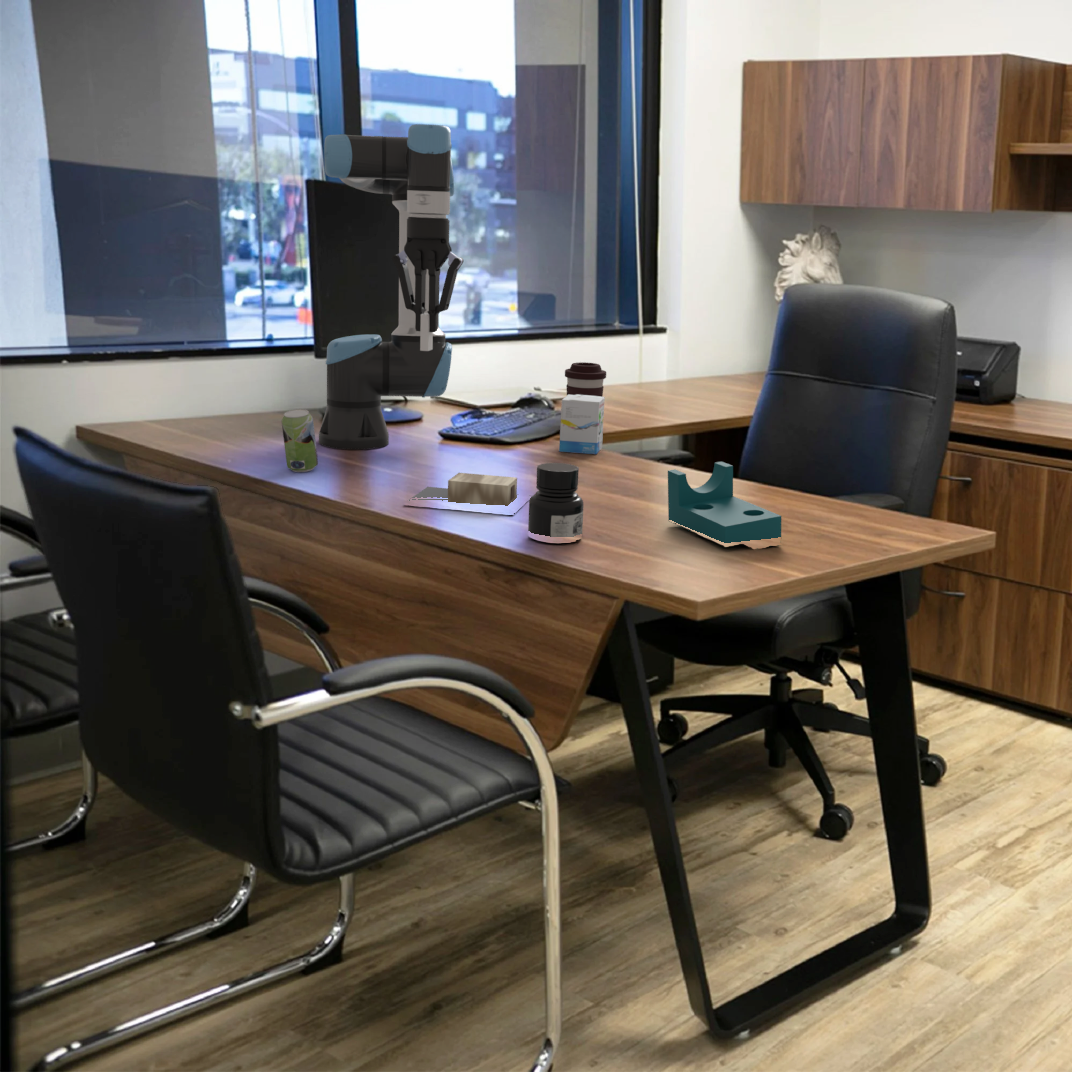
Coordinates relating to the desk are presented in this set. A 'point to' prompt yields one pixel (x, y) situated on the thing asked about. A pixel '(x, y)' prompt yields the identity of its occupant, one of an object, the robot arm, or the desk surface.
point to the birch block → (482, 489)
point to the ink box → (581, 424)
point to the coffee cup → (585, 379)
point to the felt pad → (432, 493)
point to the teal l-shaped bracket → (719, 508)
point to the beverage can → (299, 440)
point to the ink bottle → (556, 502)
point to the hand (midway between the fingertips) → (426, 349)
